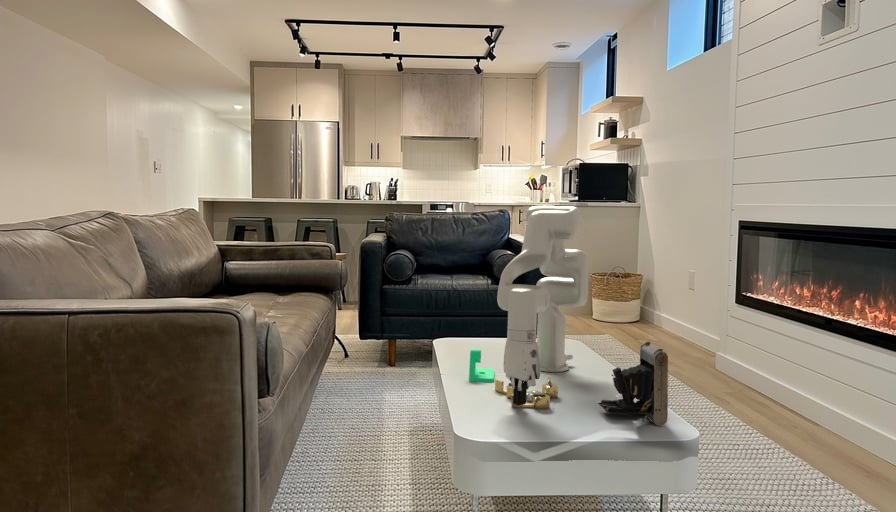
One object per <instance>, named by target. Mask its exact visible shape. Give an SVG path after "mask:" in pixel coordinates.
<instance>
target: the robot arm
mask: <svg viewBox="0 0 896 512" xmlns="http://www.w3.org/2000/svg"><path fill="white" fill-rule="evenodd" d="M525 219H526V227H525V230H524V231H525V232H524V237H523V240H522V241H523V242H522V247H521V252H520V253H519V254H518V255H516V256H515V257H513V259H511V260H510V262H508V263H507V265H506V266H505V267H504V269H503V271H502V272H501V275H500V280H499V284H498V289H497V296H496V300H497V305H498V307H499V308H500V309H501V310H503V311H507V335H506V336H507V337H506V339H505V346H504V351H503V352H504V354H503V372H504V373H505V378H507V379H508V380H509V381H510V383H512V388H513V404H516V405H523V404H526V403H527V401H526V392H528V391H529V387H535V386H536V385H537V383H536V380H539V379H540V378H541V371H542V372H548V373H563V372H565V371H567V370H569V366H570V365H569V364H568V363H567V361H570V360H571V361H572V360H573V358H574V355H573V354H572V353H570V354H565V350H566V349H565V346H566V316H565V313H564V312H563V311H562V309H561V308H560V307H561V306H564V307H582V306H585V305H586V304H587V302H588V296H589V277H588V275H589V273H588V272H589V271H588V269H589V267H588V266H589V265H588V257H587V254H586V252H585V251H583V250H581V249H575V248H573V249H572V248H565V240H573V239H575V237H576V236H577V234H578V233H579V232H580V229H581V228H582V224H583V216H582V211H581V210H580V208H578V207H577V206H568V205H567V206H566V205H565V206H563V205H561V206H559V205H557V206H555V205H535V206H534V205H533V206H531V207H528V208H527V209H526V212H525ZM535 269H539V271H540V273H541V274H542V275H544V276H547V277H543V278H540V279H539V280H538V281H537V282H536V285H533V284H532V285H531V284H520V283H518V284H517V283H516V284H515V283H513V282H514V280H516V279H517V278H518V277H519V276H521V275H522V274H525V273H527V272H530V271H533V270H535ZM527 390H528V391H527Z"/></svg>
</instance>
